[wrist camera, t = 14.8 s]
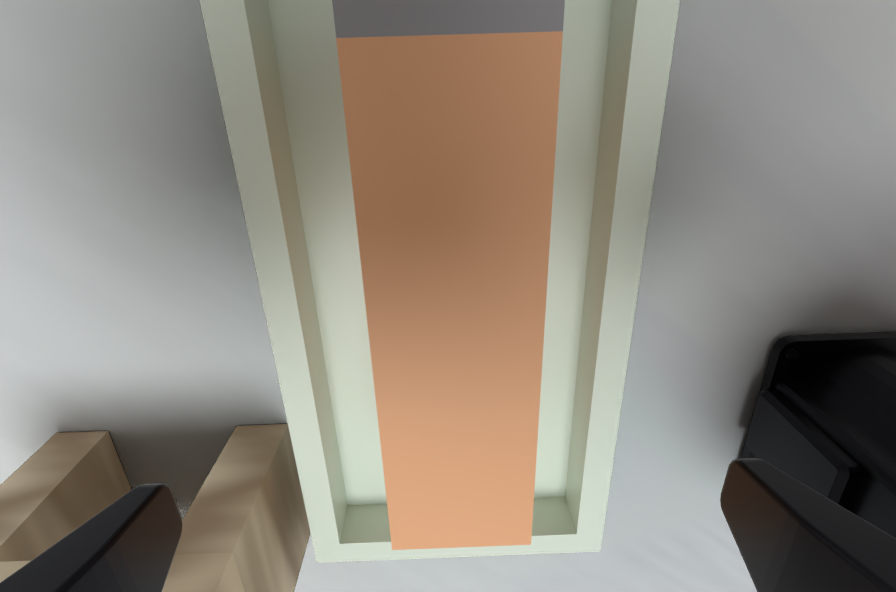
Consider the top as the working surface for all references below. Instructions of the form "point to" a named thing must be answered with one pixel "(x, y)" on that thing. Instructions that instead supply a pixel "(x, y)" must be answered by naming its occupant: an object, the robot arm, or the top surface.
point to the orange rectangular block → (454, 250)
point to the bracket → (204, 525)
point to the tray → (340, 276)
